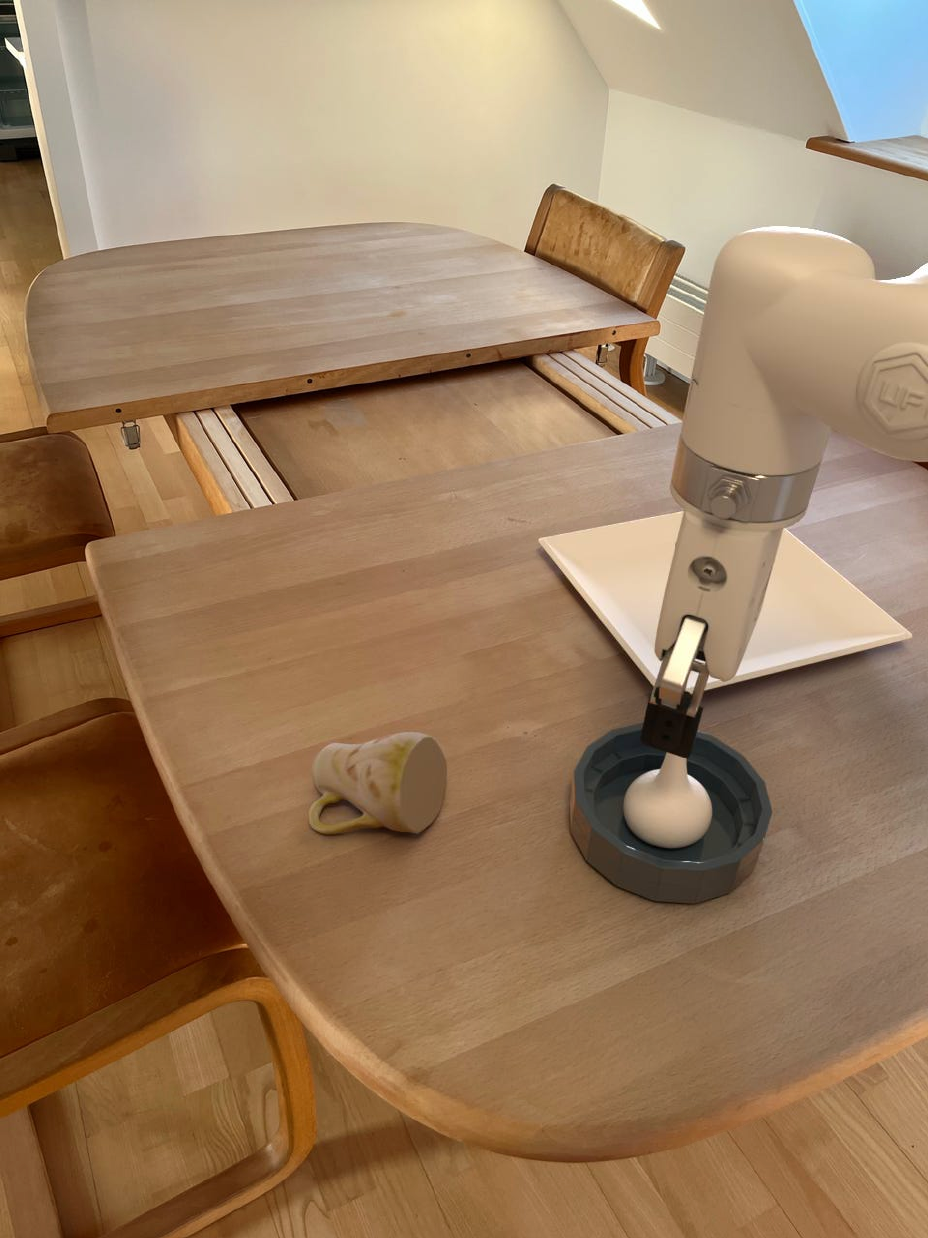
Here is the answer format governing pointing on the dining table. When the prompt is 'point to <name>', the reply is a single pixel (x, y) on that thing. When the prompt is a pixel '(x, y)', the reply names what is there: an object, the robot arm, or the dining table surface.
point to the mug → (382, 782)
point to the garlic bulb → (668, 806)
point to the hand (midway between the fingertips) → (686, 701)
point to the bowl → (657, 869)
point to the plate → (642, 555)
